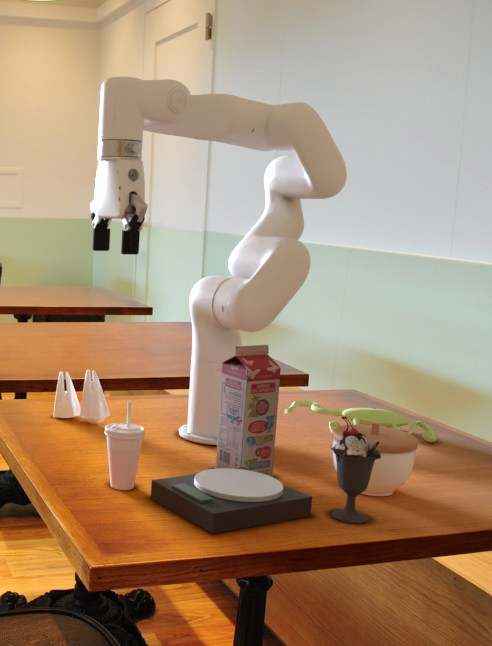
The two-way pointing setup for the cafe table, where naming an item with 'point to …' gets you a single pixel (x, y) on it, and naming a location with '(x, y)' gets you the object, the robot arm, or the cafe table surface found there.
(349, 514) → the sundae
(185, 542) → the cafe table surface
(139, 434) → the smoothie
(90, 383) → the shaker set
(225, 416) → the juice carton
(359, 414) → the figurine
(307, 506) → the scale
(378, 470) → the lidded bowl
